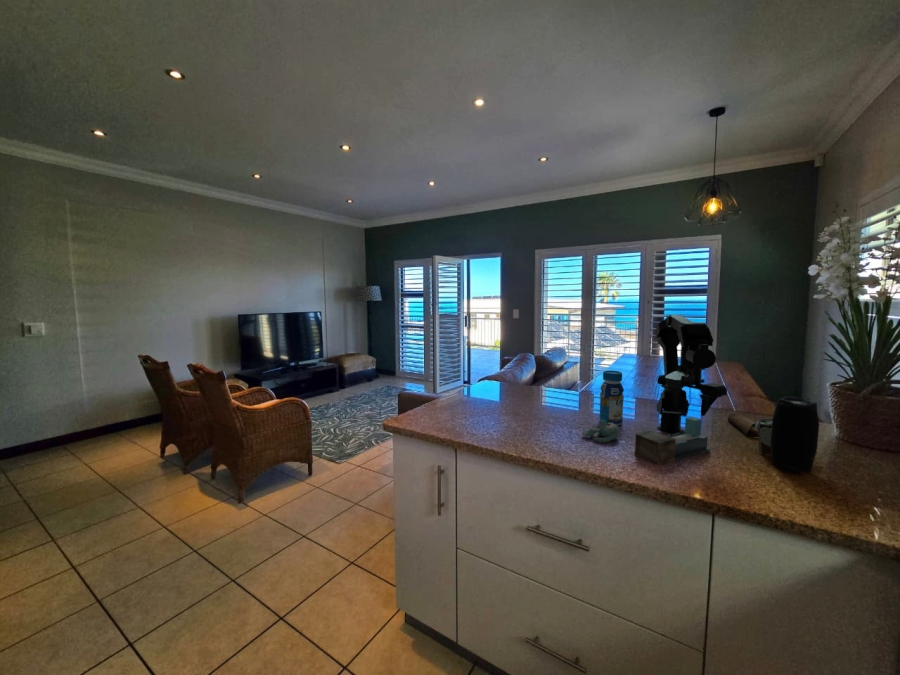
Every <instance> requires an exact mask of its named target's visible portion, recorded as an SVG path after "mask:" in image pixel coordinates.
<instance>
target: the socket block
mask: <svg viewBox="0 0 900 675" xmlns="http://www.w3.org/2000/svg"><path fill="white" fill-rule="evenodd" d="M675 440H676V439H674V438H671V437H668V436H667V435H666V434H662V433H659V432H656V431H654V430H650V431H645V432H640V433H635V448H634V456H636V457H638V458H640V459H643V460H645V461H648V462H649V461H650V462H649V463H652V464H654V465H656V466H662V465H665V464H670V463H674V462H676V461H675Z"/></svg>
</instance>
